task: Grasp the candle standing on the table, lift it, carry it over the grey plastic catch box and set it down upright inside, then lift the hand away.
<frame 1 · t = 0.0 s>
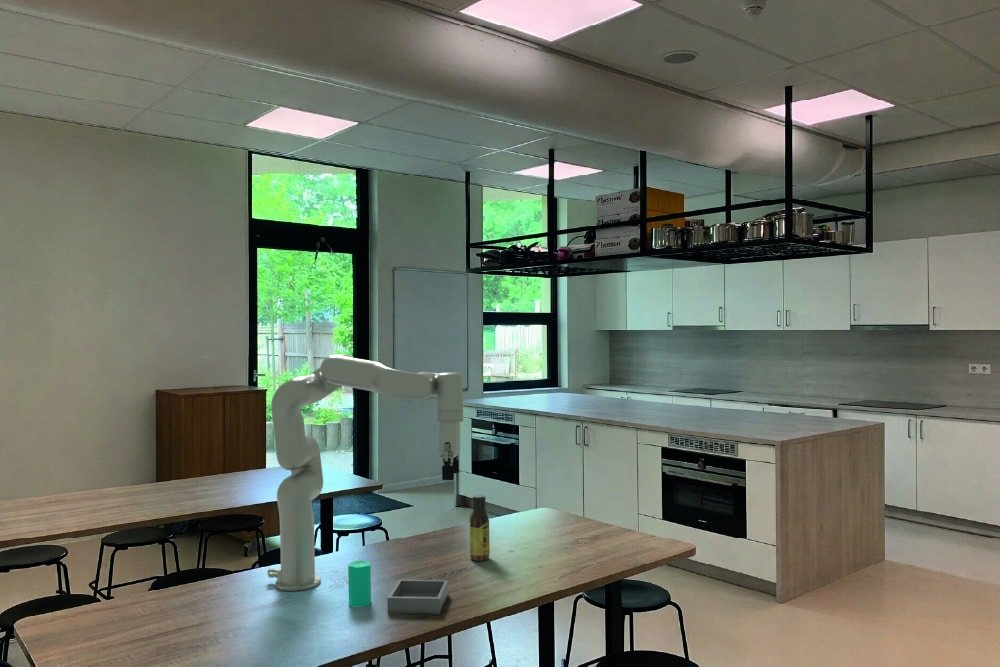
hand: (450, 476, 208), 31 cm above the table, tool pointing down, fingers open, 9 cm apart
candle: (360, 603, 196), on the table
sauce bottle: (479, 559, 232), on the table
catch box: (418, 603, 195), on the table
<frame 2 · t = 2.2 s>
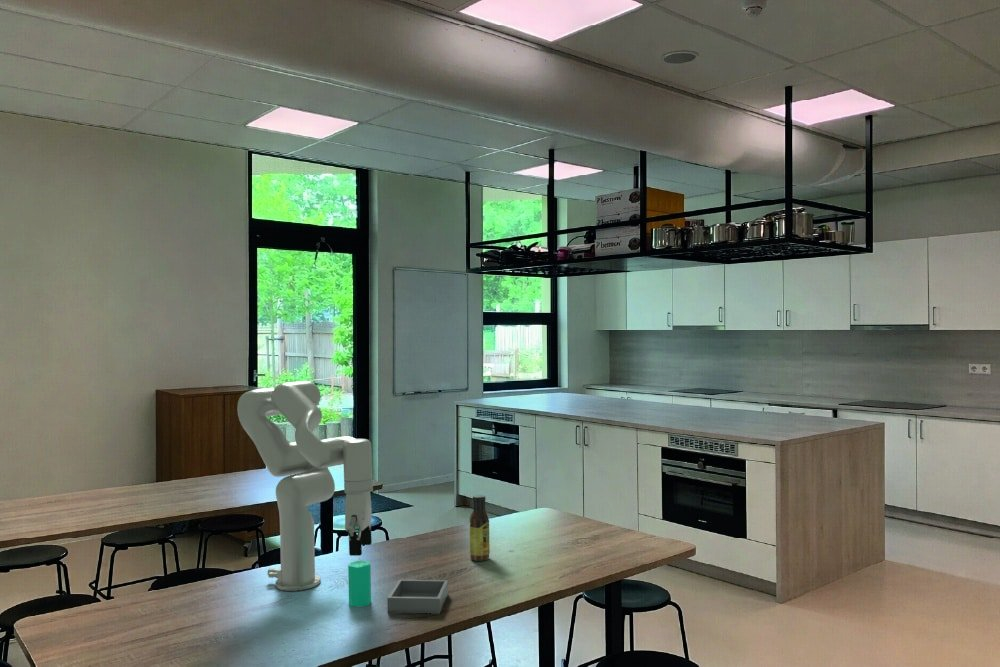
hand: (360, 549, 196), 14 cm above the table, tool pointing down, fingers open, 9 cm apart
nothing on the table moved.
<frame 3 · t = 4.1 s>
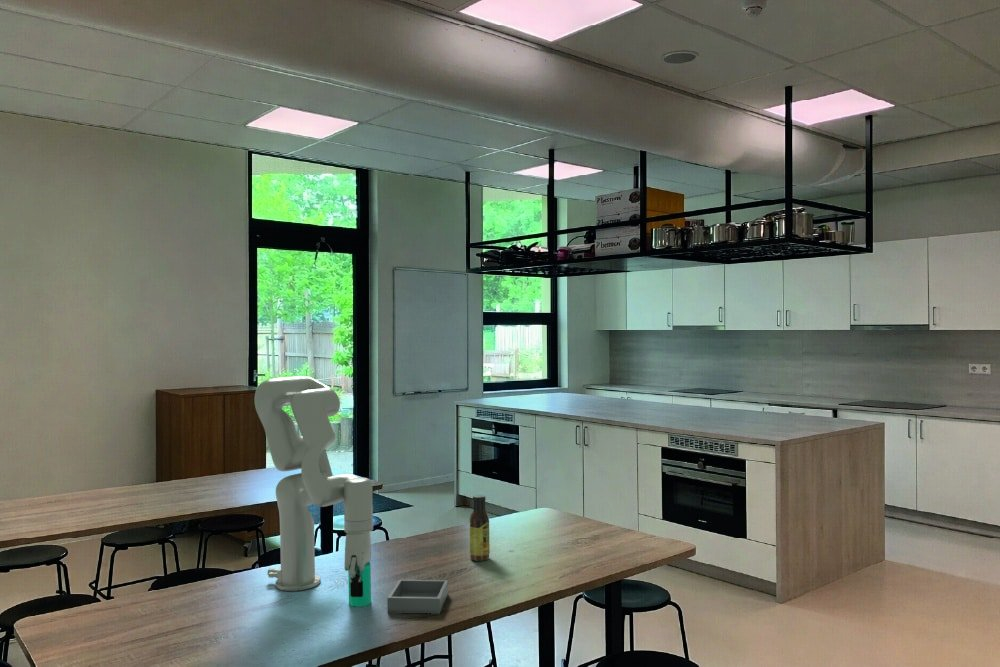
hand: (359, 591, 196), 3 cm above the table, tool pointing down, fingers closed on candle, 4 cm apart
candle: (360, 603, 196), on the table, touching gripper
everything else where it was.
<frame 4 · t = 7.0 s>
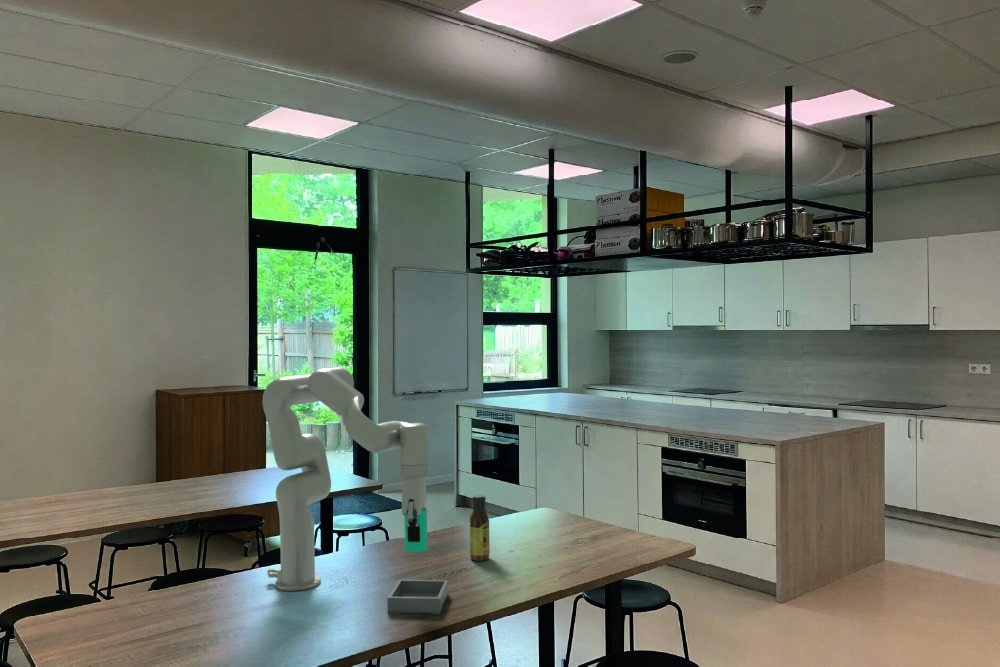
hand: (416, 537, 195), 18 cm above the table, tool pointing down, fingers closed on candle, 4 cm apart
candle: (416, 549, 195), point 15 cm above the table, touching gripper
everything else where it was.
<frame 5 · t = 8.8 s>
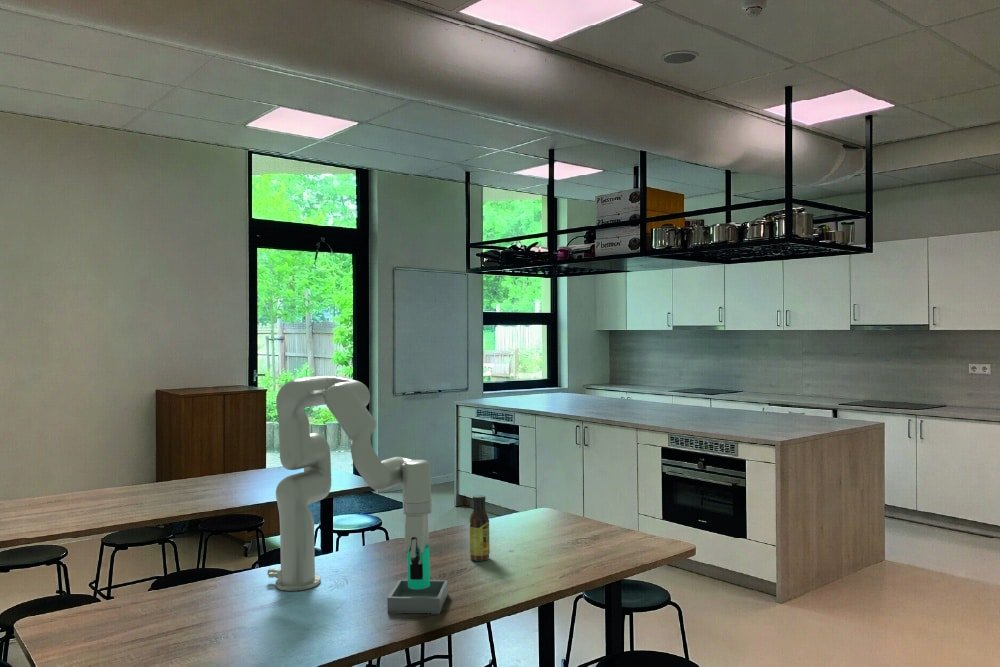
hand: (418, 574, 195), 8 cm above the table, tool pointing down, fingers closed on candle, 4 cm apart
candle: (419, 586, 195), point 5 cm above the table, touching gripper
everything else where it was.
when the fingers open (5 cm above the table, at t = 10.2 s): candle drops 1 cm, resting on catch box.
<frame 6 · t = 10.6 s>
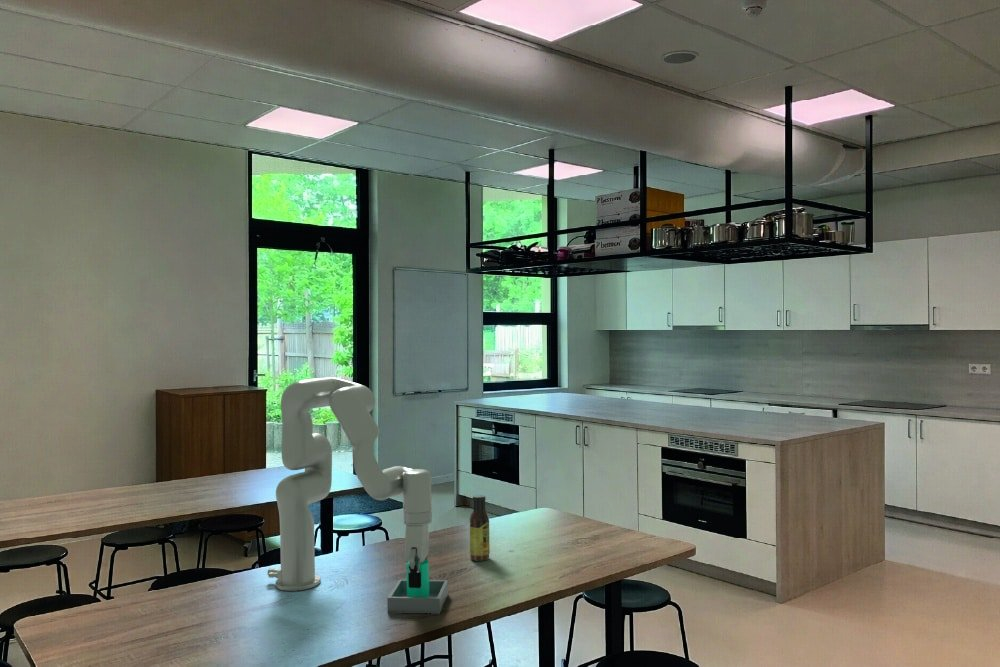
hand: (418, 581, 195), 6 cm above the table, tool pointing down, fingers open, 9 cm apart
candle: (418, 601, 195), point 1 cm above the table, touching catch box
everything else where it was.
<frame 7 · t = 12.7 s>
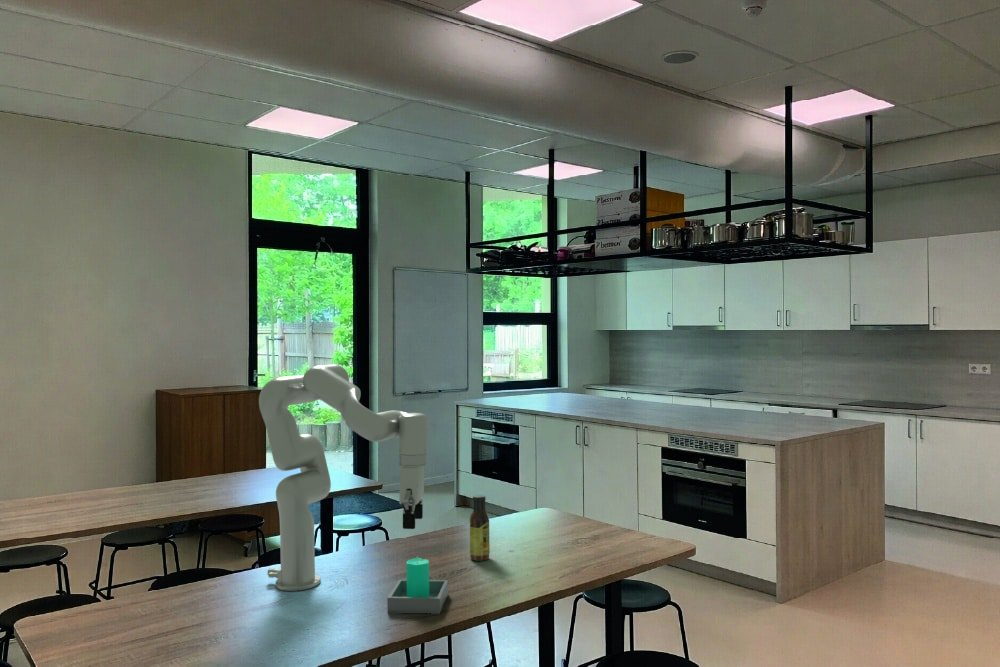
hand: (412, 523, 196), 21 cm above the table, tool pointing down, fingers open, 9 cm apart
nothing on the table moved.
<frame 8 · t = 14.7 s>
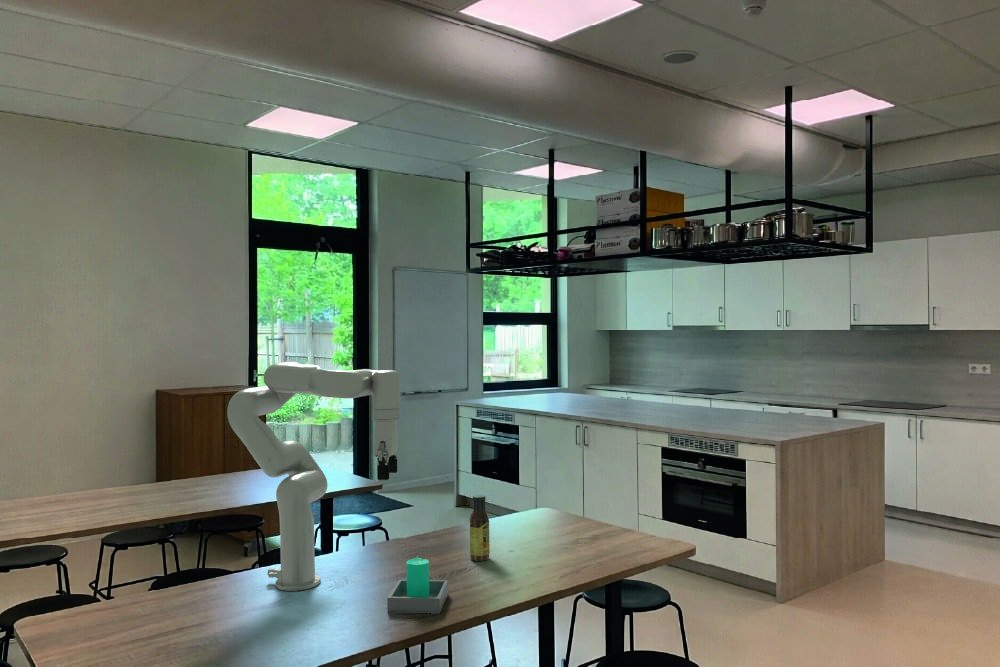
hand: (387, 476, 204), 32 cm above the table, tool pointing down, fingers open, 9 cm apart
nothing on the table moved.
at the end: candle inside the target area on the catch box (0.2 cm from its centre), point 0.6 cm above the catch box's base; candle tilted 0°; the gripper is holding nothing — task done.
